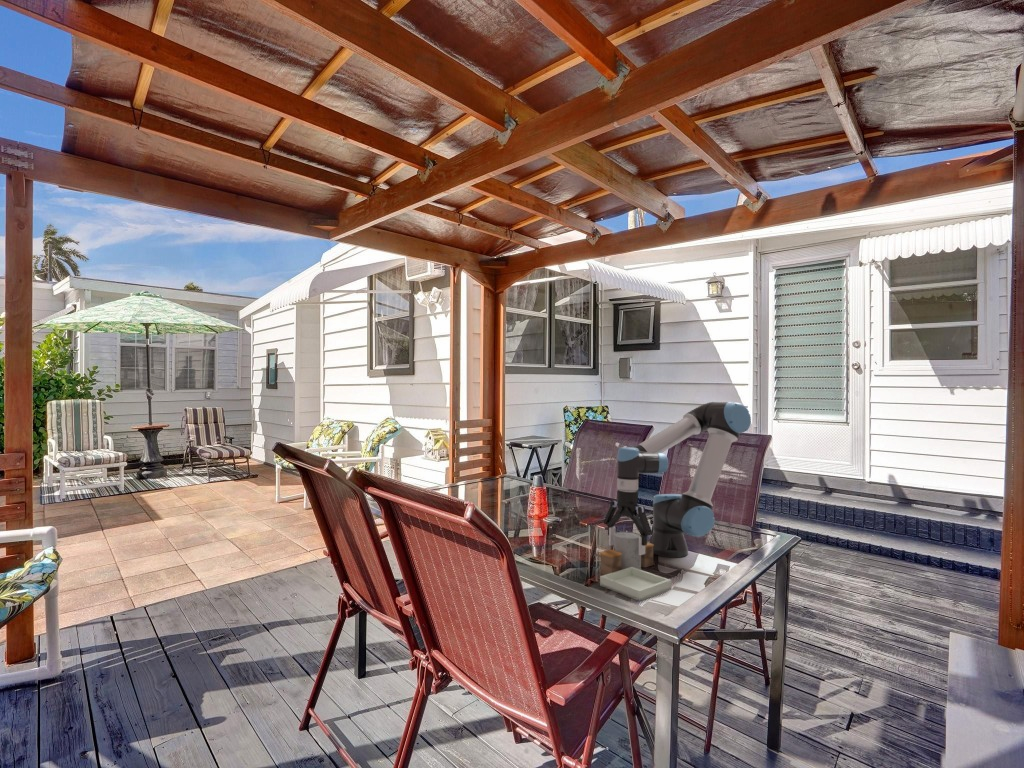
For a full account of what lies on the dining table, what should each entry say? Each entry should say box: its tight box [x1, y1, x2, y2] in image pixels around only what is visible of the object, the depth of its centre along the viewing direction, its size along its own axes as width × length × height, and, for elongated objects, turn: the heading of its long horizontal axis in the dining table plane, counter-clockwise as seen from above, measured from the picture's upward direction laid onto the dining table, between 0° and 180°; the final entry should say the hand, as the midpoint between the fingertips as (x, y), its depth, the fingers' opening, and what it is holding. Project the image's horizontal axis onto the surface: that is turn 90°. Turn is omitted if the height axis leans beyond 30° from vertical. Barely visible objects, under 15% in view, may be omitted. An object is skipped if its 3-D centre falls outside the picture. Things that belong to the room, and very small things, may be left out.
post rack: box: [599, 542, 654, 576], centre depth 180 cm, size 23×5×8 cm, turn 127°
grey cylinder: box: [613, 531, 642, 570], centre depth 180 cm, size 10×10×12 cm
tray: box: [599, 567, 672, 602], centre depth 162 cm, size 16×16×3 cm
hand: (626, 549), depth 180 cm, fingers open, 13 cm apart
